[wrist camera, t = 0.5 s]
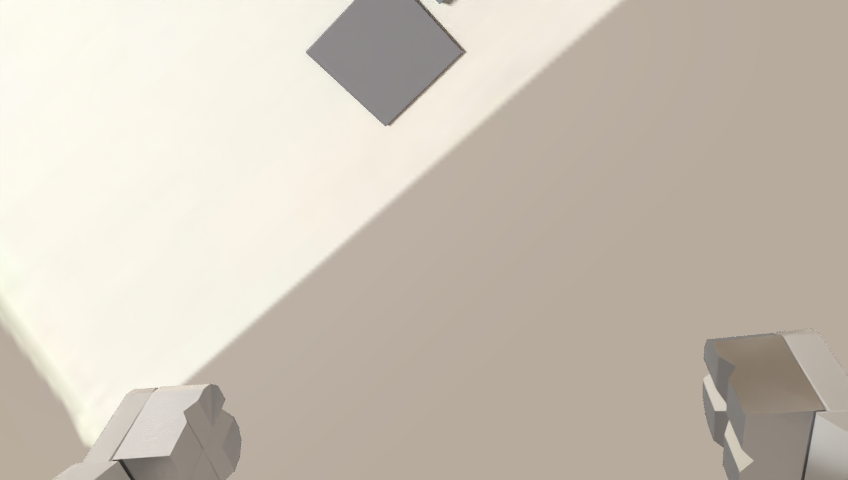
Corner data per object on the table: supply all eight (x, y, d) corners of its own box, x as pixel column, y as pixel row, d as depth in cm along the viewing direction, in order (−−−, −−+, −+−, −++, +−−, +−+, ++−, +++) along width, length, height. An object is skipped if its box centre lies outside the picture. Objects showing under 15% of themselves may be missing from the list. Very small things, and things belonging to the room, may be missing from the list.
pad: (385, 124, 56) (385, 126, 56) (306, 51, 52) (306, 52, 51) (461, 50, 54) (462, 51, 53) (385, -33, 49) (386, -32, 49)
